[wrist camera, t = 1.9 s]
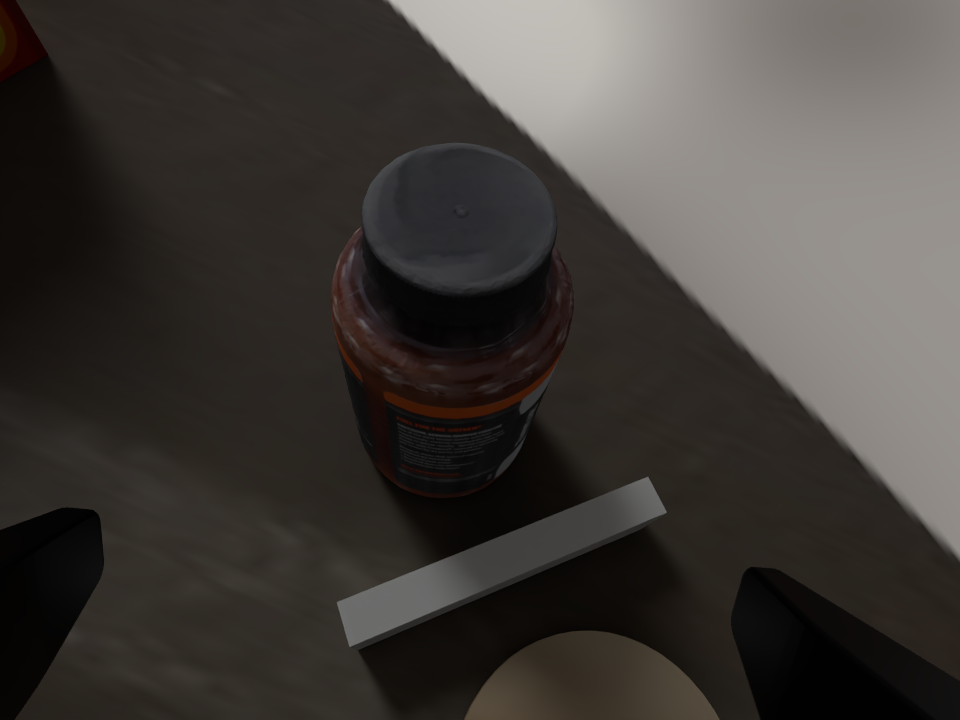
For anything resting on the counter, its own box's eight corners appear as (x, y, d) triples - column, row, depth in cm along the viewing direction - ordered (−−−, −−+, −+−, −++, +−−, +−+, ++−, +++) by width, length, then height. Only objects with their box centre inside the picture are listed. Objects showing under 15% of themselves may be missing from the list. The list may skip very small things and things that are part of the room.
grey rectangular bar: (624, 497, 21) (647, 476, 19) (640, 529, 21) (667, 512, 19) (346, 610, 19) (336, 602, 17) (357, 650, 18) (349, 647, 16)
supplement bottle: (553, 460, 22) (666, 279, 12) (398, 533, 20) (378, 394, 10) (480, 328, 24) (523, 81, 14) (335, 383, 22) (268, 148, 12)
